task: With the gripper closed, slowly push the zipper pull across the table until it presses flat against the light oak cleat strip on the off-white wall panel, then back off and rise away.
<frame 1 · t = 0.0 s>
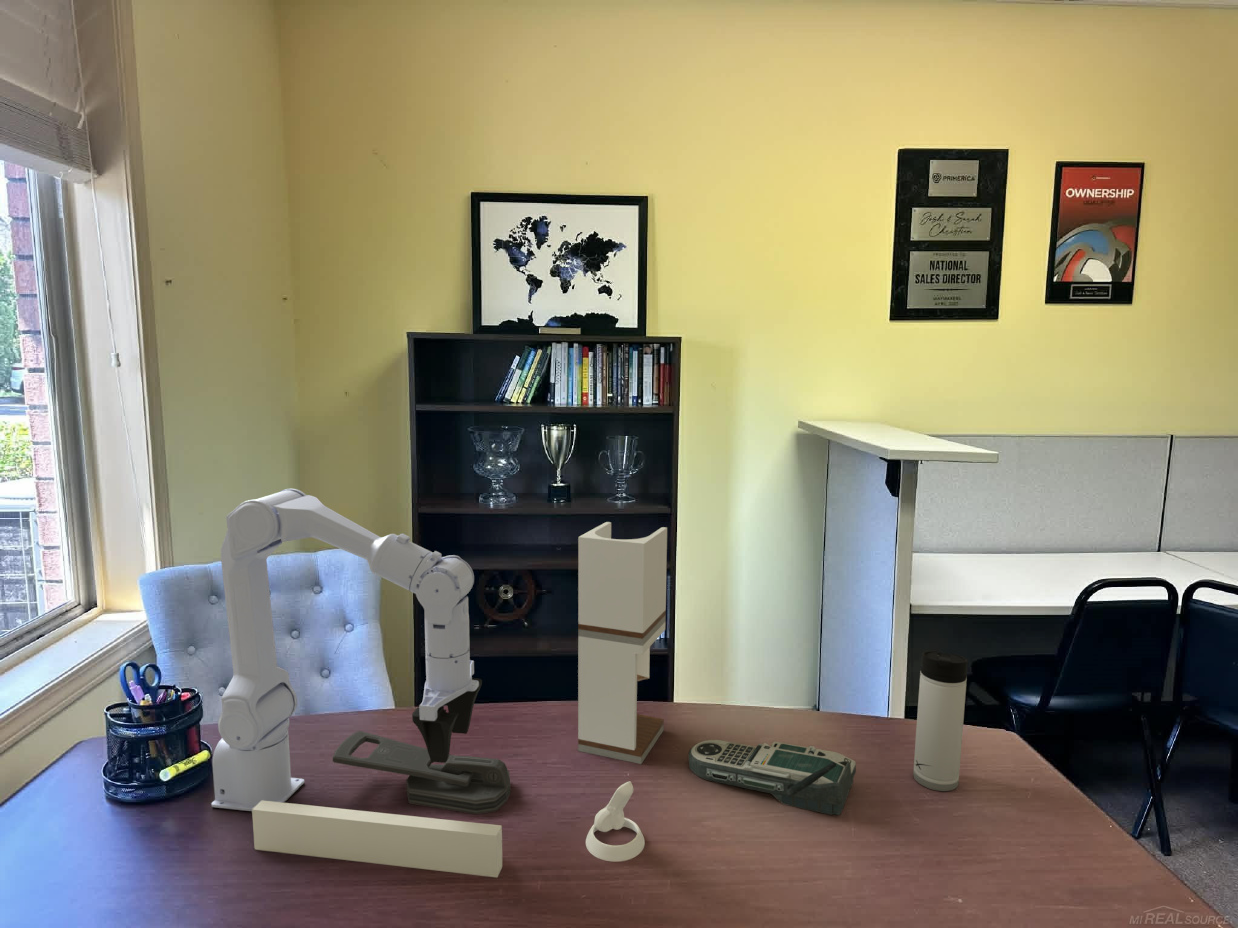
hand: (450, 745, 102), 10 cm above the table, tool pointing down, fingers open, 7 cm apart
white square tower: (622, 741, 124), on the table
zipper pull: (424, 792, 110), on the table
communication device: (765, 783, 113), on the table
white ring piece: (615, 843, 98), on the table
cleat wall panel: (380, 852, 96), on the table
travel mug: (935, 781, 113), on the table
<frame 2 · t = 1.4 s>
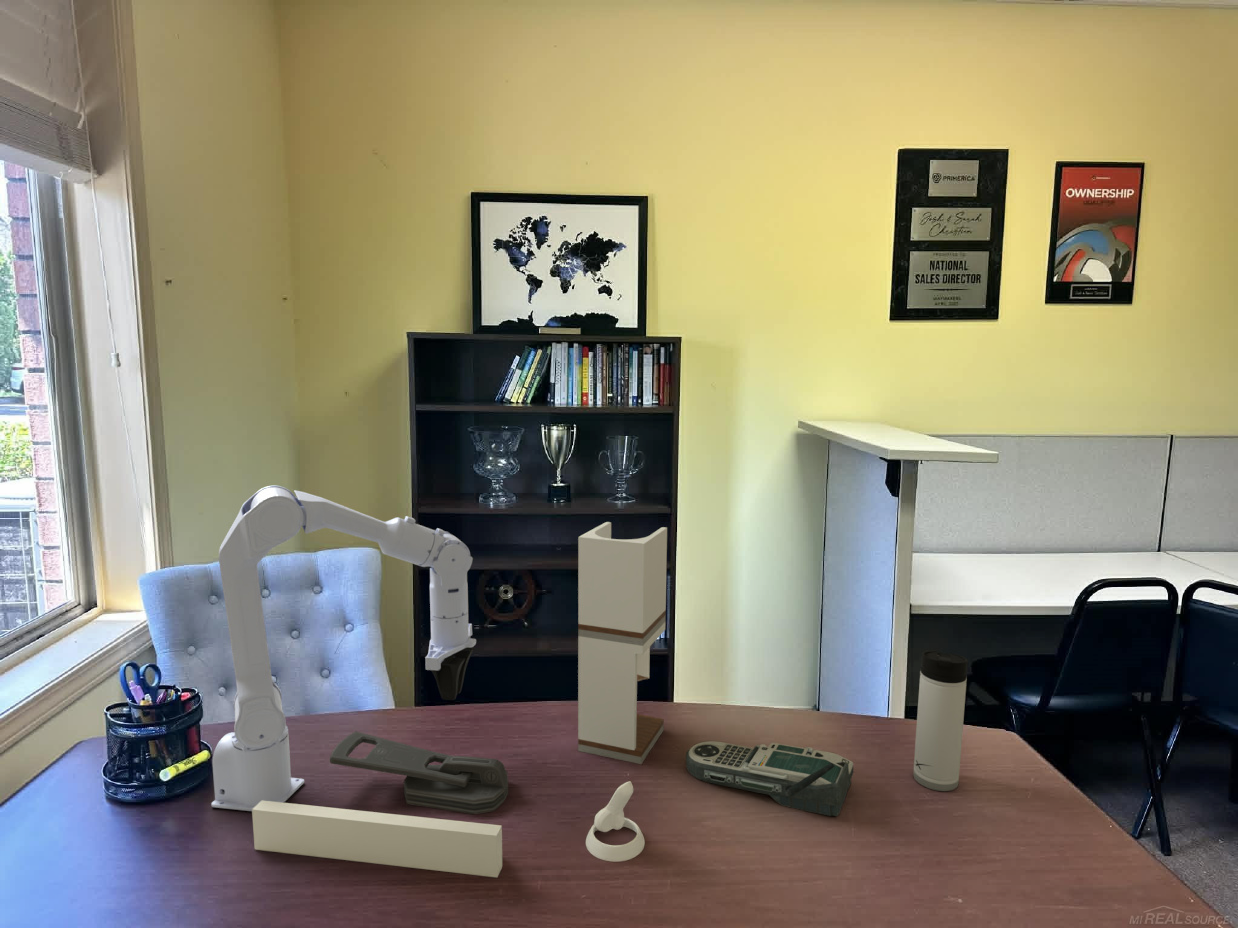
hand: (451, 695, 119), 9 cm above the table, tool pointing down, fingers closed
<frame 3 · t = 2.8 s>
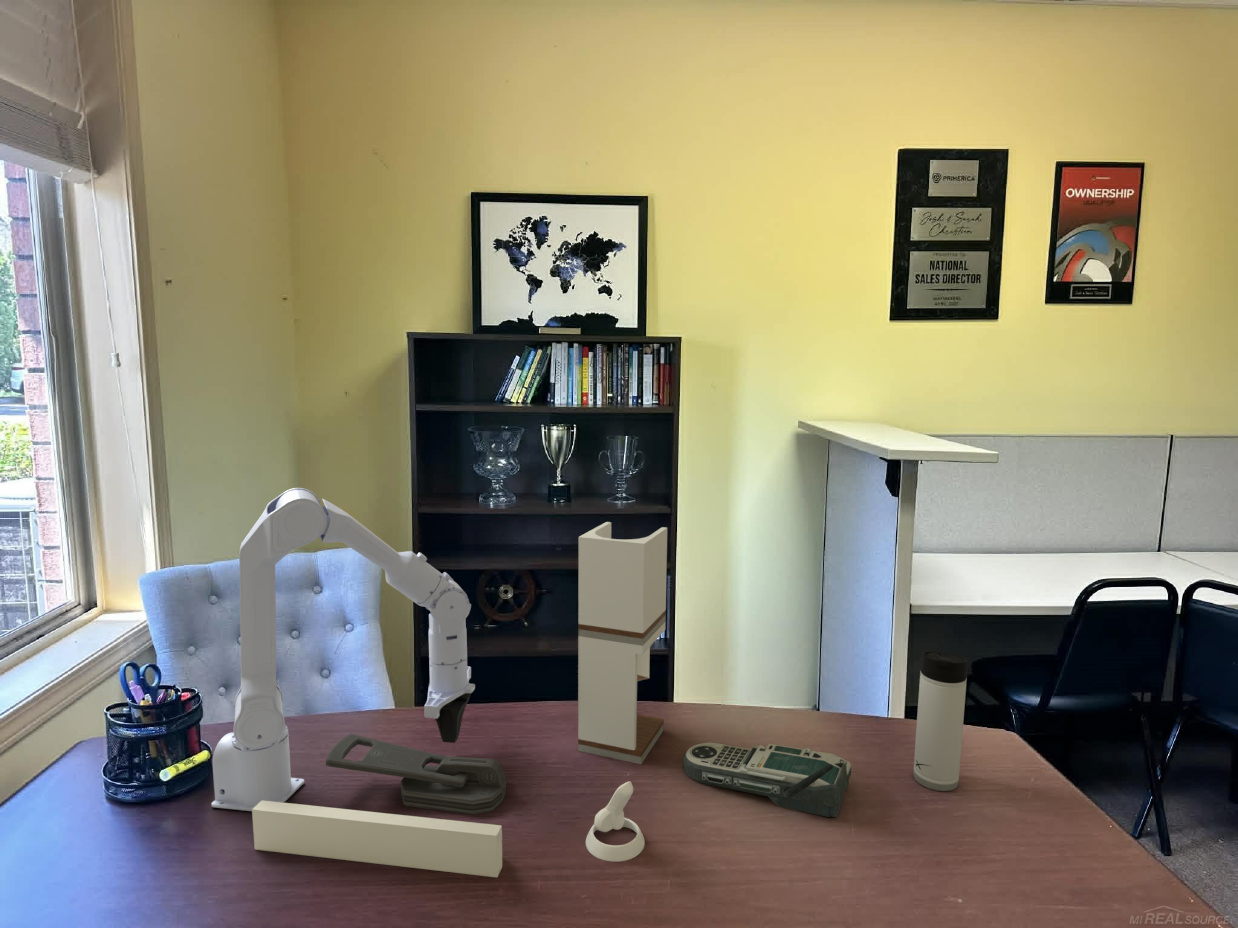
hand: (450, 740, 119), 2 cm above the table, tool pointing down, fingers closed
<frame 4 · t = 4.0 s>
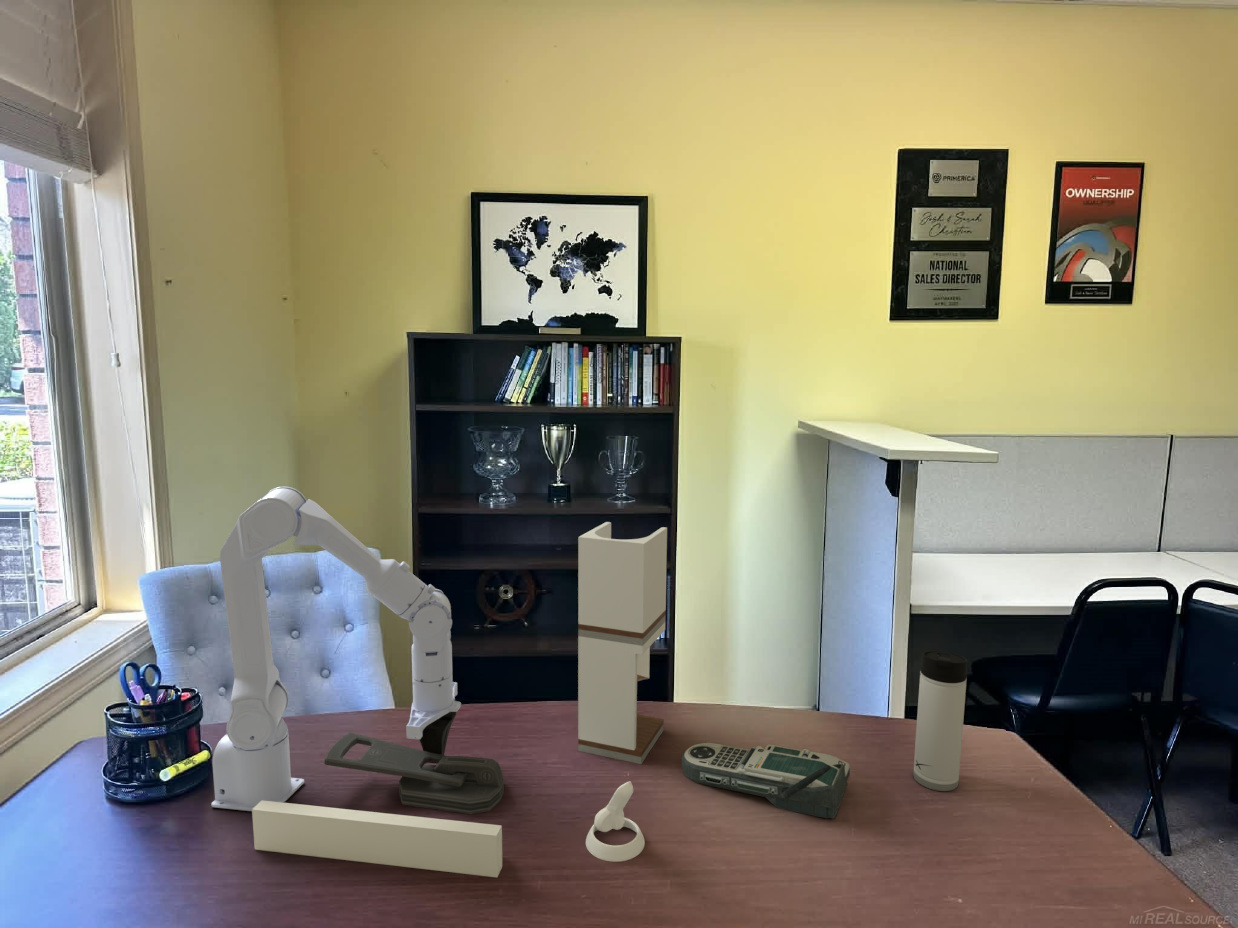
hand: (434, 760, 113), 2 cm above the table, tool pointing down, fingers closed
zipper pull: (417, 793, 109), on the table, touching gripper
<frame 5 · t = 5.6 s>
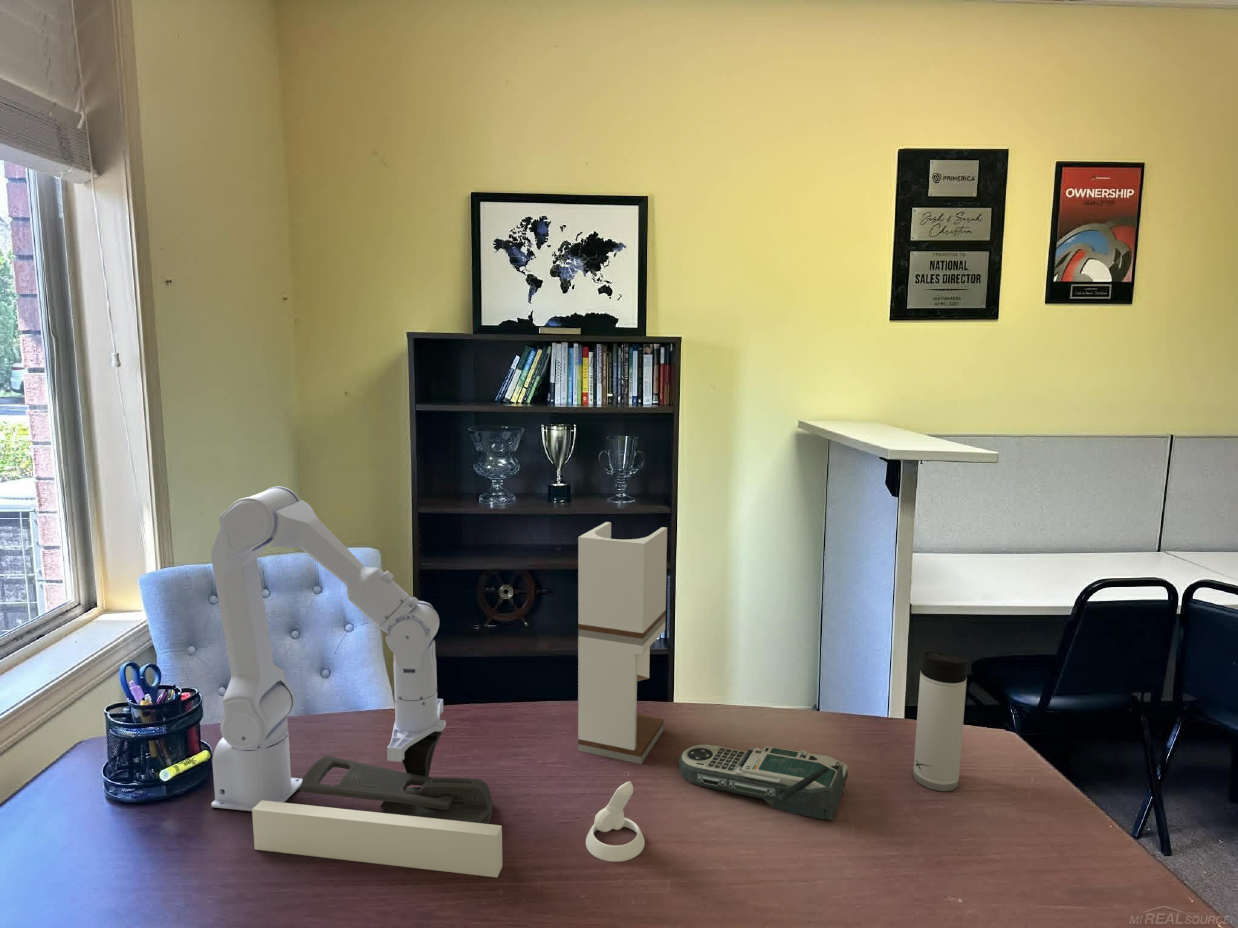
hand: (418, 782, 107), 2 cm above the table, tool pointing down, fingers closed
zipper pull: (400, 817, 103), on the table
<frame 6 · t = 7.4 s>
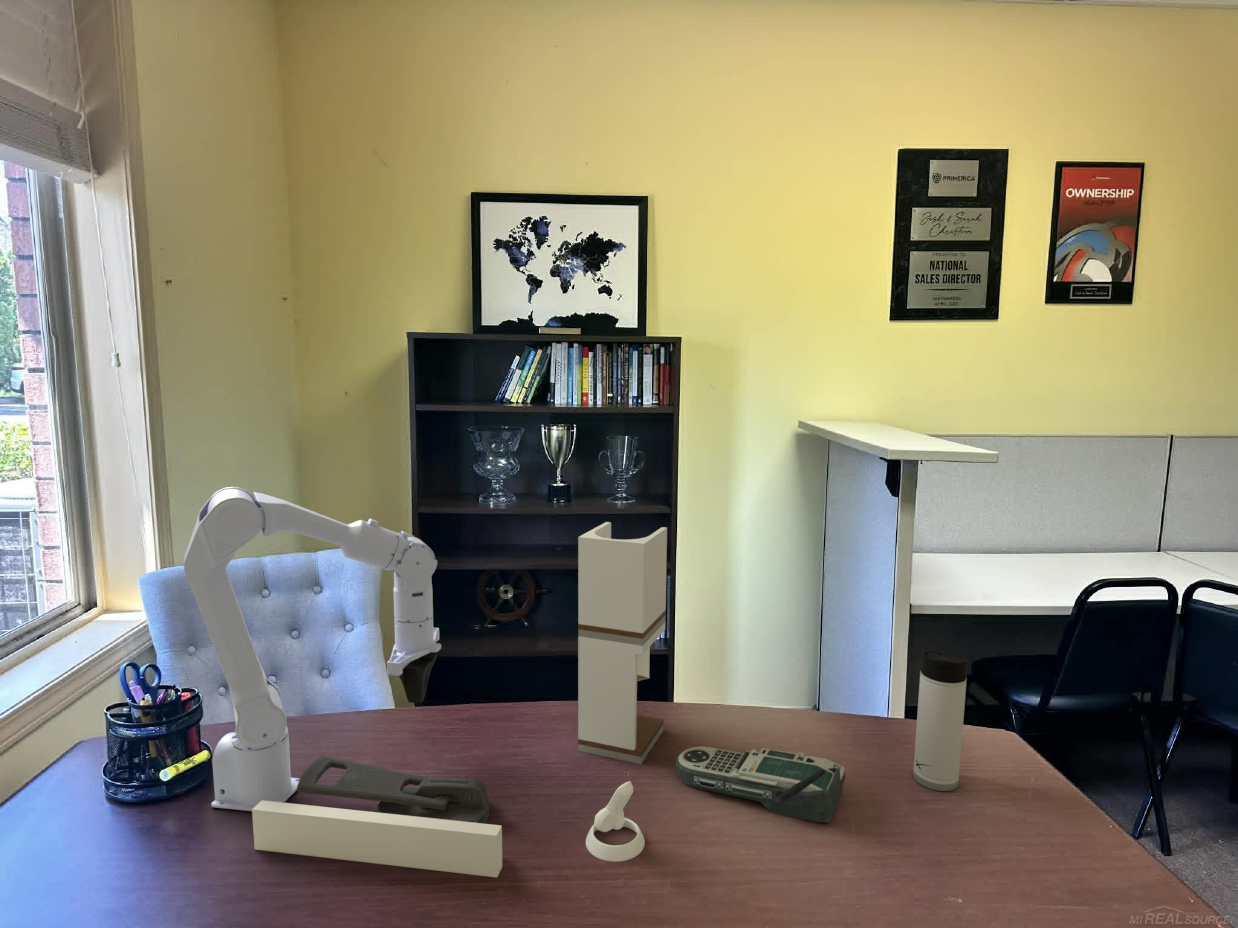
hand: (416, 700, 117), 9 cm above the table, tool pointing down, fingers closed
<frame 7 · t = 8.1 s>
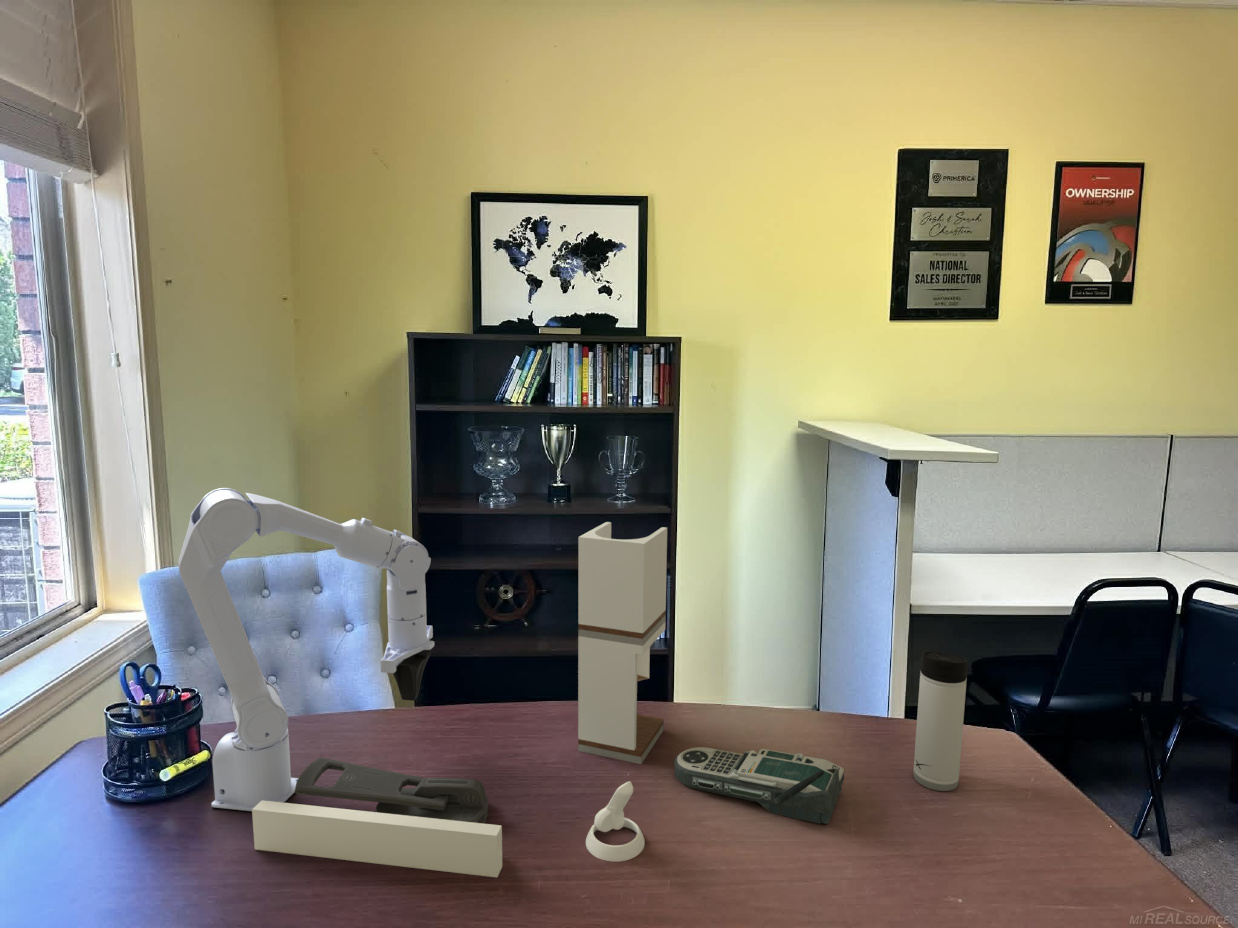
hand: (409, 698, 118), 9 cm above the table, tool pointing down, fingers closed
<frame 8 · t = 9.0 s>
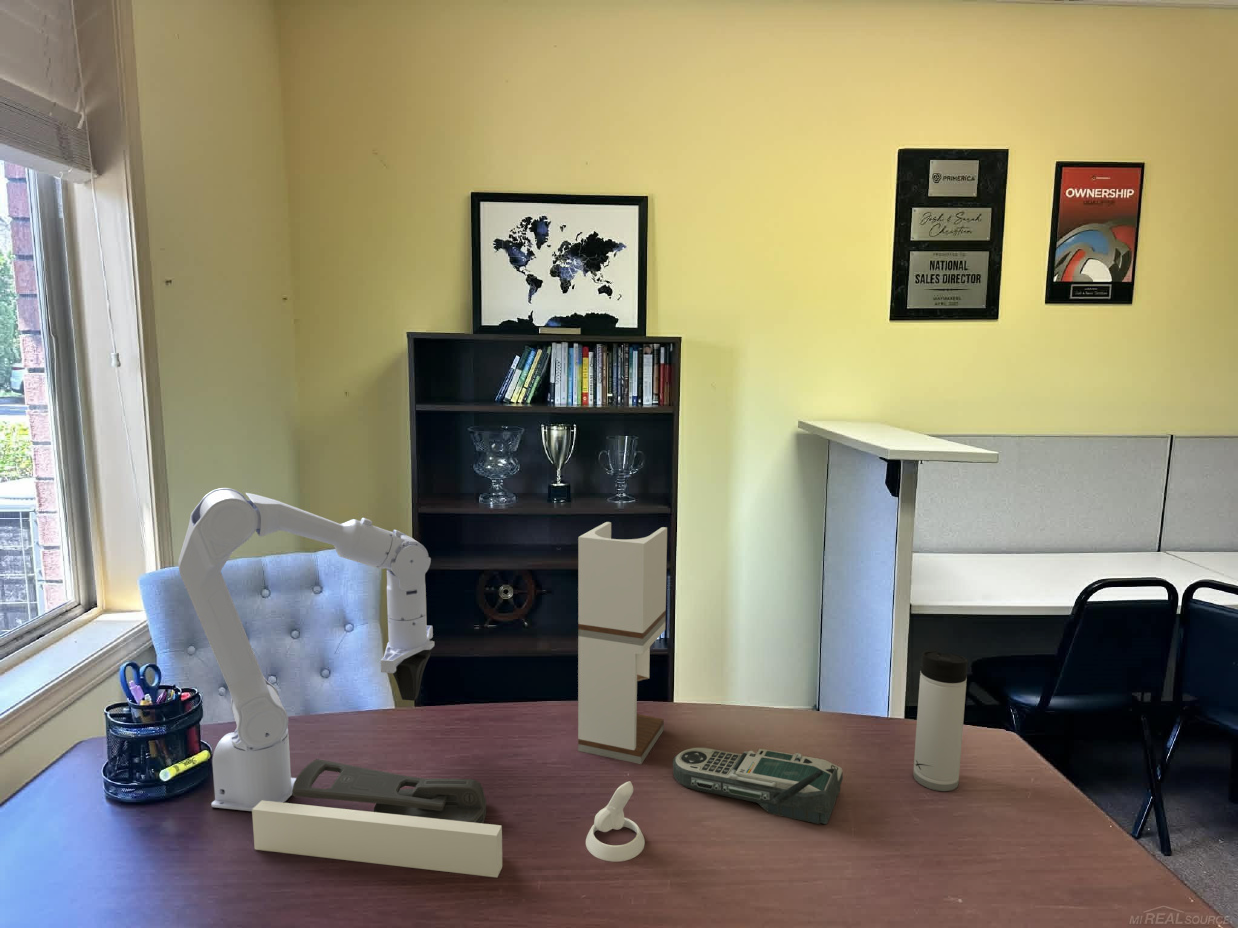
hand: (409, 698, 118), 9 cm above the table, tool pointing down, fingers closed
at the end: zipper pull inside the target area (1.7 cm from its centre), on the table; zipper pull moved 7.1 cm from its start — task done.
